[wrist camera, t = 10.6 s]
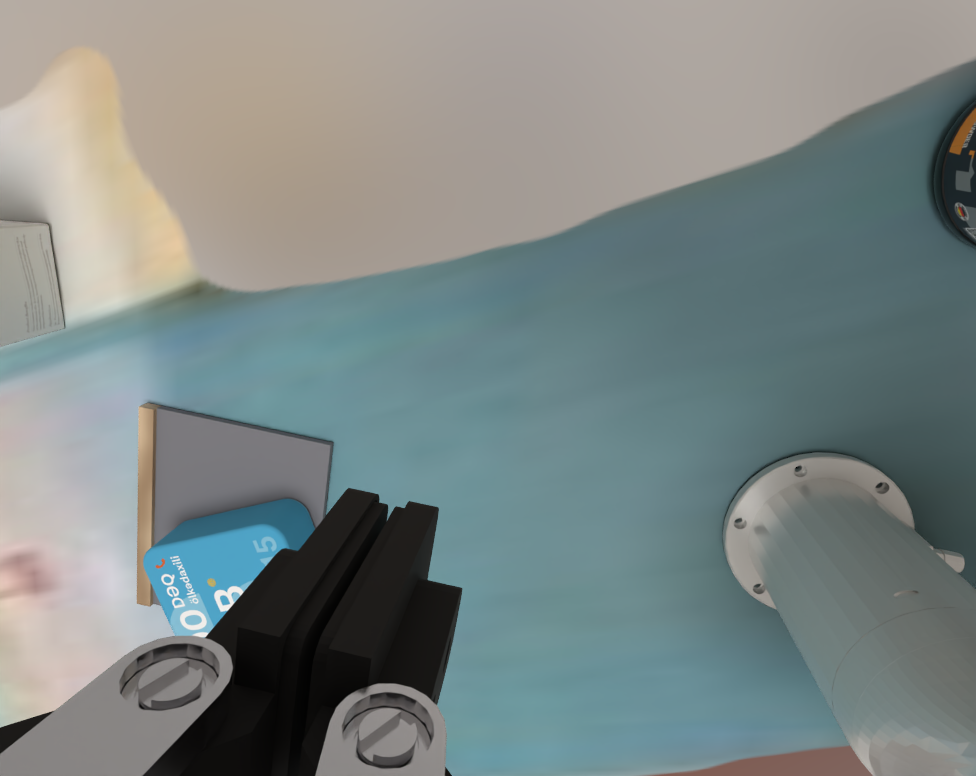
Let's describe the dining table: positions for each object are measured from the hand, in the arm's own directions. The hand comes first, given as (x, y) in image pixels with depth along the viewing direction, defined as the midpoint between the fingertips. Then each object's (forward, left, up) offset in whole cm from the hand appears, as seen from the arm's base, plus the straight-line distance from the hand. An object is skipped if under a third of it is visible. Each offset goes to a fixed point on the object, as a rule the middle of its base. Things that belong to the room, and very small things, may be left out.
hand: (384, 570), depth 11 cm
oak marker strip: (+27, +22, -33) cm, 48 cm away
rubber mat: (+19, +22, -33) cm, 44 cm away
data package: (+11, +23, -30) cm, 39 cm away
